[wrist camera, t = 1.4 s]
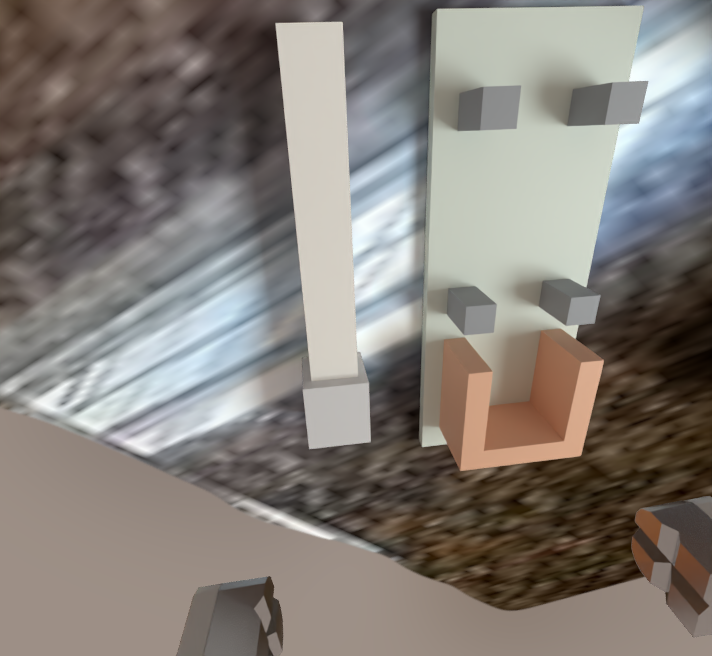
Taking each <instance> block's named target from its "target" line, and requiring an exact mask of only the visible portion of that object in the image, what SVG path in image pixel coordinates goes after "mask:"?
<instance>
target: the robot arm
mask: <svg viewBox="0 0 712 656" xmlns="http://www.w3.org/2000/svg"><path fill="white" fill-rule="evenodd" d="M635 522H636V523H637V524H638V526H639V527H640V529H639V530H638V531H637V532H636V533H635V534H634V535H633V536H632V546H631V548H632V552H633V555H634V558H635V561H636V563H637V565H638V567H639V568H640V570H641V572H642V573H643V575H644V576H645V577H646V578H647V580H648V581H649V582H650V583H651V584H652V585H654V586H656V587H658V588H659V589H661V590H663V591H664V592H665V594H666V604H667V605H668V607H669V608H670V609H671V610H672V612H673V613H674V614H675V615H676V617H677V618H678V619H679V620H680V622H681V623H682V624H683V625H684V627H685V628H686V629H687V630H688V632H689V633H690V634H691V635H692V637H699V636H705V635H712V497H710V496H708V497H701V498H696V499H691V500H686V501H677V502H672V503H666V504H661V505H656V506H651V507H646V508H641V509H640V510H639V511H638V512H637V513H636V518H635ZM273 593H274V585H273V582H272V580H271V577H270V576H269V577H263V578H256V579H249V580H243V581H236V582H229V583H222V584H217V585H211V586H205V587H199V588H198V590H197V591H196V593H195V594H194V596H193V599H192V602H191V606H190V610H189V613H188V616H187V620H186V623H185V627H184V631H183V634H182V637H181V641H180V645H179V648H178V652H177V655H176V656H280V654H281V653H282V648H283V619H282V613H281V607H280V604H279V601H278V600H277V599H275V598H273Z"/></svg>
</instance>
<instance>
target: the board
mask: <svg viewBox="0 0 712 656" xmlns="http://www.w3.org/2000/svg"><path fill="white" fill-rule="evenodd" d="M643 9H644V6H592V7H527V8H462V9H437V10H436V11H434V12H433V13H432V29H431V62H430V94H429V127H428V160H427V192H426V225H425V257H424V290H423V322H422V355H421V388H420V420H419V441H420V443H421V446H422V447H426V446H435V445H443V444H448V446H449V448H450V451H451V453H452V455H453V457H454V459H455V461H456V463H457V465H458V467H459V469H460V471H464V470H472V469H480V468H488V467H496V466H504V465H512V464H520V463H528V462H536V461H544V460H552V459H560V458H568V457H576V456H581V453H582V449H583V445H584V441H585V437H586V433H587V429H588V424H589V420H590V416H591V412H592V408H593V404H594V400H595V396H596V392H597V388H598V383H599V379H600V375H601V371H602V367H603V363H604V360H603V359H602V358H600V357H599V356H598V355H596V354H595V353H594V352H592V351H591V350H590V349H588V348H587V347H585V346H584V345H583V344H581V343H580V342H579V341H577V340H576V335H577V330H578V325H582V324H593V323H594V322H595V318H596V314H597V309H598V305H599V300H600V296H601V295H599V294H597V293H595V292H593V291H591V290H590V289H588V288H586V286H587V281H588V277H589V272H590V267H591V262H592V257H593V252H594V247H595V243H596V238H597V233H598V228H599V223H600V218H601V213H602V209H603V204H604V199H605V194H606V189H607V184H608V179H609V174H610V170H611V165H612V160H613V155H614V150H615V145H616V140H617V136H618V131H619V126H620V124H637V123H639V121H640V116H641V112H642V107H643V103H644V98H645V94H646V89H647V85H648V81H635V82H629V77H630V72H631V68H632V63H633V58H634V53H635V48H636V43H637V38H638V33H639V29H640V24H641V19H642V14H643Z"/></svg>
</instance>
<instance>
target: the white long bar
mask: <svg viewBox="0 0 712 656" xmlns="http://www.w3.org/2000/svg"><path fill="white" fill-rule="evenodd" d="M276 33H277V43H278V53H279V63H280V73H281V83H282V93H283V103H284V113H285V123H286V133H287V143H288V153H289V163H290V173H291V183H292V193H293V203H294V213H295V223H296V233H297V243H298V253H299V263H300V272H301V282H302V292H303V302H304V312H305V322H306V332H307V342H308V352H309V357H305V358H302V379H303V397H304V406H305V415H306V424H307V433H308V442H309V449H315V448H323V447H332V446H340V445H349V444H357V443H366V442H371V436H370V404H369V382H368V378H367V375H366V371H365V368H364V364H363V361H362V357H361V354H360V352H358V353H357V339H356V316H355V294H354V271H353V248H352V226H351V203H350V181H349V158H348V135H347V113H346V90H345V67H344V45H343V22H308V23H276Z"/></svg>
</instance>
